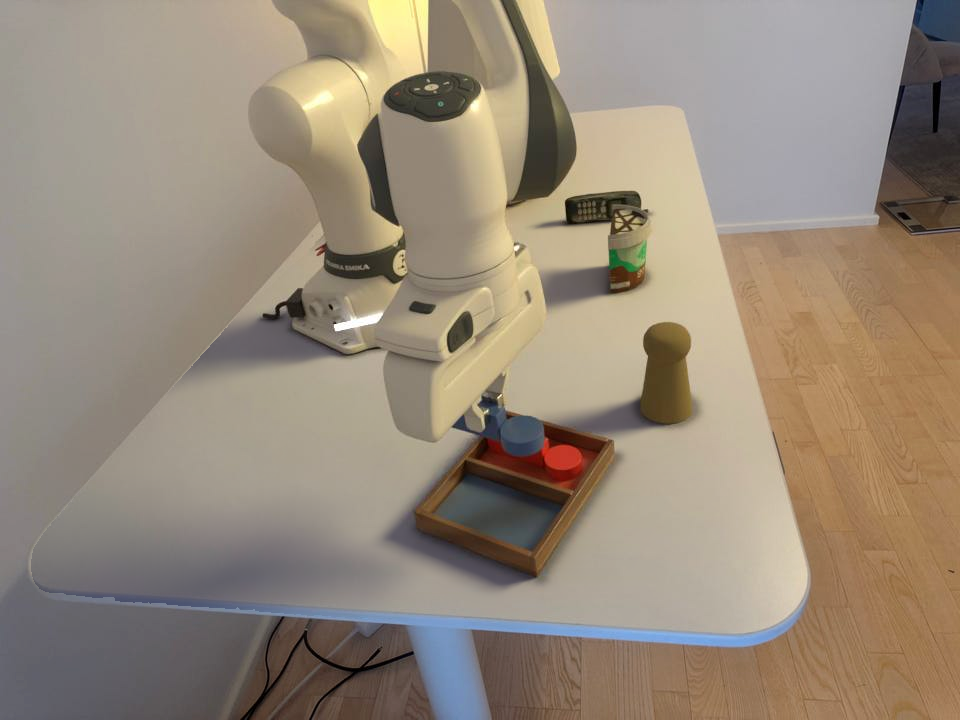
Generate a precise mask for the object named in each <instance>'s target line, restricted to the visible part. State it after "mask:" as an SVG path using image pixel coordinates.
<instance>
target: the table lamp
mask: <svg viewBox="0 0 960 720" xmlns="http://www.w3.org/2000/svg"><path fill="white" fill-rule="evenodd" d="M427 2H428V3H427V13H428V14H427V70H426V71H427V72H436V71H446V72H455V73H461V74H465V75H468V76H470V77H472V78H474V79H476V80H477V81H478V82H480V84H481V85H482V86H483V88H484V89H487V88H490V87H492V86H493V84H492V81H491V79H490V76H489V74H488V72H487V70H486V67H485V65H484V63H483V60H482V58H481V56H480V53H479V51H478V49H477V46H476V44H475V42H474V39H473V37H472V35H471V32H470V30H469V28H468V25H467V23H466V21H465V18H464V16H463V14H462V12H461V11H460V9H459V8H458V6H457V5H456V4H455V3H454V2H453V1H452V0H428V1H427ZM516 2H517V4H518V6H519V9H520V11H521V13H522V16H523V18H524V21H525V23H526V25H527V28H528V30H529V32H530V35H531V37H532V39H533V42H534V44H535V46H536V49H537V51H538V53H539V56H540V58H541V60H542V62H543V64H544V66H545V68H546V70H547V72H548V74H549V75H550V77H551V79H552V81H554V80H555V79H557V78H558V76H559V75H560V73H561V68H560V64H559V59H558V55H557V51H556V48H555V43H554V39H553V35H552V31H551V26H550V22H549V18H548V14H547V11H546V6H545V2H544V0H516ZM427 72H426V73H427ZM523 201H524V200H521V201H513V202H511V201H507V204H506V206H507V205H513V204H517V203H520V202H523Z"/></svg>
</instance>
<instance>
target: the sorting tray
mask: <svg viewBox="0 0 960 720" xmlns="http://www.w3.org/2000/svg"><path fill="white" fill-rule="evenodd" d="M505 412H506V418H507V420H508V419H510V418H513V417H516V416H523V415H524V414H520V413H516V412H513V411H509V410H507V409H505ZM539 420H540V421H541V422H542V424H543V427H544V435H545V437H546V438H548V442H549V449H550V448H552V447H555V446H558V445H569V446H572V447H575V448H576V449H578V450H579V451H580V453H581V456H582V471H581V473H580V474H579V475H578V476H577V477H576V478H574V479H572V480H568V481H558V480H554V479H552V478H550V477H549V476H548V475H547V473H546V471H545V466H544V467H541V466H538V465H534V464H531V463H528V462H525V461H521V460H518V459H515V458H512V457H508V456H505V455H502V454H499V453H495V452H492V451H490V450H489V445H488V439H487V438H486V437H482V436H479V435H478V438H476V439H475V441H474V442H473V443H472V444H471V445H470V447H468V449H467V450H466V451H465V452H464V453H463V455H462V456H461V457H460V458H459V459H458V460H457V461H456V462H455V463H454V465H453V466H452V467H451V468H450V469H449V470H448V471H447V473H445V475H444V476H443V477H442V478H441V480H440V481H439V482H438V483H436V484H435V486H434V487H433V489H432V490H430V492H429V493H428V494H427V495H426V496H425V498H424V499H423V500H422V501H421V502H420V503H419V504H418V505H417V507H416V508H415V509H414V510H413V515H414V519H415V523H416V527H417V530H419V531H421V532H424V533H426V534H429V535H431V536H433V537H436V538H439V539H442V540H444V541H446V542H449V543H452V544H454V545H457V546H459V547H461V548H464V549H467V550H469V551H471V552H474V553H477V554H479V555H481V556H484V557H485V558H488V559H490V560H494V561H496V562H499V563H502V564H504V565H507V566H509V567H511V568H514V569H516V570H519V571H521V572H524V573H526V574H529V575H531V576H534V577H536V578H538V577H539V576H540V575H541V572H542V571H543V570H544V568H545V566H546V565H547V563H548V561H550V558H551V557H552V555H553V554H554V552H555V551H556V549H557V548H558V546H559V544H560V543H561V541H562V540H563V538H564V537H565V535H566V534H567V532H568V531H569V529H570V528H571V526H572V524H573V523H574V521H575V520H576V518H577V517H578V515H579V514H580V512H581V510H582V509H583V507H584V506H585V504H586V503H587V502H588V500H589V498H590V496H591V495H592V493H593V492H594V491H595V489H596V487H597V486H598V484H599V483H600V481H601V480H602V478H603V477H604V475H605V473H606V472H607V470H608V469H609V467H610V466H611V464H612V463H613V461H614V460H615V440H614V439H611V438H608V437H603V436H600V435H596V434H593V433H590V432H586V431H581V430H579V429H574V428H572V427H568V426H564V425H560V424H556V423H553V422H549V421H545V420H542V419H539Z"/></svg>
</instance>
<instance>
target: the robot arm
mask: <svg viewBox="0 0 960 720" xmlns="http://www.w3.org/2000/svg"><path fill="white" fill-rule="evenodd" d="M452 1H453V2H454V3H455V4H456V5H457V6H458V8H459V9H460V11H461V12H462V14H463V16H464V18H465V21H466V23H467V25H468V28H469V30H470V32H471V35H472V37H473V39H474V42H475V44H476V46H477V49H478V51H479V53H480V56H481V58H482V60H483V63H484V65H485V67H486V70H487V72H488V74H489V76H490V79H491V81H492V84H493V86H492V87H490V88H487V89H484V88H483V86H482V85H481V84H480V82H478V81H477V80H476V79H474V78H472V77H470V76H468V75H465V74H461V73H455V72H446V71H436V72H423V73H422V72H421V73H418V74H415V75H411V76H408V77H407V75H406V72H405V68H404V66H403V63H402V62H401V61H400V59H399V57H398V56H397V55H396V54H395V52H393V50H392V49H390V48H389V47H387V45H386V44H385V43H384V41H383V39H382V37H381V35H380V33H379V30H378V28H377V25H376V23H375V21H374V18H373V15H372V12H371V8H370V6H369V1H368V0H271V3H272V5H273V6H274V8H275V9H276V10H277V12H279V13H280V14H281V15H282V16H283V17H285V18H286V19H288V20H290V21H292V22H293V23H294V24H295V27H297V29H298V31H299V33H300V36H301V38H302V40H303V42H304V45H305V49H306V52H307V55H306V56H307V58H306V60H304V61H301V62H299V63H296V64H293V65H291V66H288V67H287V68H284V69H282V70H279V71H278V72H276V73H274V74H273V75H272V76H270V78H269V79H267V80H265V82H263V84H261V85H260V86H259V87H258V88H256V90H255V91H254V92H253V93H252V95H251V96H250V99H249V101H248V106H247V118H248V119H247V120H248V124H249V128H250V131H251V133H252V136H253V137H254V140H255V141H256V144H258V146H259V147H260V148H261V149H262V150H263V152H264V153H266V154H267V155H268V156H269V157H271V158H272V159H273V160H275V161H276V162H278V163H281V164H283V165H285V166H287V167H289V168H290V169H292V170H293V172H295V173H296V174H297V175H298V177H299V178H300V179H301V181H302V182H303V183H304V185H305V187H306V188H307V190H308V191H309V194H310V196H311V198H312V201H313V202H314V205H315V209H316V212H317V215H318V218H319V222H320V225H321V228H322V231H323V235H324V238H325V243H323V244H322V245H320V246H319V247H317V248H315V249H314V251H315V252H317V253H316V254H315V255H316V257H320V256H321V255H322V254H324V255H323V265H322V266H321V267H320V268H319V270H317V272H315V274H314V275H312V277H310V279H309V280H307V282H306V283H305V284H304V286H303V287H298V288H296V290H294V292H293V293H292V294H291V295H290V296H289V297H288V298H287V299H286V300H284V301H281V302H278V303H277V304H276V306H275V308H274V312H275V314H271V313H268V312H267V313H265V312H263V313H262V318H263V319H269V320H276V319H278V318H280V316H281V310H280V309H281V308H283V307H285V308H286V311H287V313H288V316H289V318H293V319H292V321H291V326H292V329H293V330H295V331H296V332H299V333H301V334H303V335H306V336H307V337H309V338H311V339H313V340H316V342H319V343H321V344H324V345H326V346H328V347H330V348H332V349H334V350H335V351H337V352H340V353H342V354H344V355H353V354H357V353H359V352H362V351H366V350H368V349H373V348H381V349H383V350H386V351H387V352H386V354H385V357H384V362H383V366H382V367H383V371H382V372H383V381H384V387H385V392H386V397H387V401H388V406H389V411H390V413H391V416H392V421H393V423H394V426H395V428H396V429H397V430H398V432H400V433H401V434H403V435H404V436H407V437H409V438H412V439H415V440H419V441H423V442H427V443H432V444H434V443H437V442H439V441H441V439H442V438H443V437H444V436H445V434H447V433H448V431H450V429H452V426H453V425H454V424H455V422H456V421H457V420H458V419H459V418H460V417H461V416H462V415H463V414H464V417H465V422H466V426H467V428H469V429H470V430H473V431H476V432H482V431H483V430H484V429H485V427H486V426H487V425H488V424H489V423H490V418H489V415H490V414H489V409H487V408H483V407H481V408H479V406H477V404H479V403H480V401H484V402H488V403H492V404H496V405H500V406H503V407H505V406H506V405H507V403H508V401H507V394H506V390H507V386H508V381H509V378H510V377H509V376H510V372H511V366H510V365H511V364H512V362H513V361H514V360H515V359H516V358H517V357H518V356H519V355H520V353H521V352H523V350H524V349H525V348H527V346H528V345H529V344H530V343H531V341H533V340H534V338H535V337H536V336H537V335H538V334H539V333H540V332H541V331H542V330H543V329H544V327H545V323H546V319H547V307H546V300H545V295H544V290H543V286H542V281H541V277H540V273H539V270H538V268H537V267H536V266H535V265H534V264H532V256H531V251H530V249H529V248H528V247H527V246H526V245H525V244H523V243H520V242H518V241H516V242H514V238H513V236H512V234H511V231H510V229H509V227H508V223H507V219H506V210H507V205H508V204H507V201H511V202H513V201H520V202H522V201H521V200H523V201H527V200H534V199H536V200H537V199H542V198H548V197H550V196H551V195H552V194H553V193H554V192H555V191H556V190H557V188H559V186H560V185H561V184H562V183H563V182H564V180H565V179H566V178H567V175H569V172H570V171H571V169H572V167H573V166H574V163H575V161H576V159H577V149H578V148H577V136H576V132H575V127H574V124H573V120H572V117H571V114H570V111H569V109H568V107H567V104H566V102H565V100H564V98H563V96H562V94H561V92H560V91H559V89H558V88H557V86H556V84H555V82H554V80H552V79H551V77H550V75H549V74H548V72H547V70H546V68H545V66H544V64H543V62H542V60H541V58H540V56H539V53H538V51H537V49H536V46H535V44H534V42H533V39H532V37H531V35H530V32H529V30H528V28H527V25H526V23H525V21H524V18H523V16H522V13H521V11H520V9H519V6H518V4H517V2H516V0H452ZM506 204H507V205H506Z"/></svg>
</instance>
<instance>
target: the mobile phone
mask: <svg viewBox="0 0 960 720" xmlns="http://www.w3.org/2000/svg"><path fill="white" fill-rule="evenodd" d="M612 205H629V206H633V207H637V208H639V209H642V198H641V195H640V193H639V192H638V191H636V190H617V191H616V190H615V191H614V190H613V191H606V192H598V193H597V192H595V193H586V194H580V195H573V196H570V197H568V198H566V199H565V200H564V209H565V210H564V211H565V221H566V223H567V224H580V223H591V222H606V221H607V222H608V221H612ZM642 210H643V211H645V212H646V213H649V209H648V208H645V209H642Z"/></svg>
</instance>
